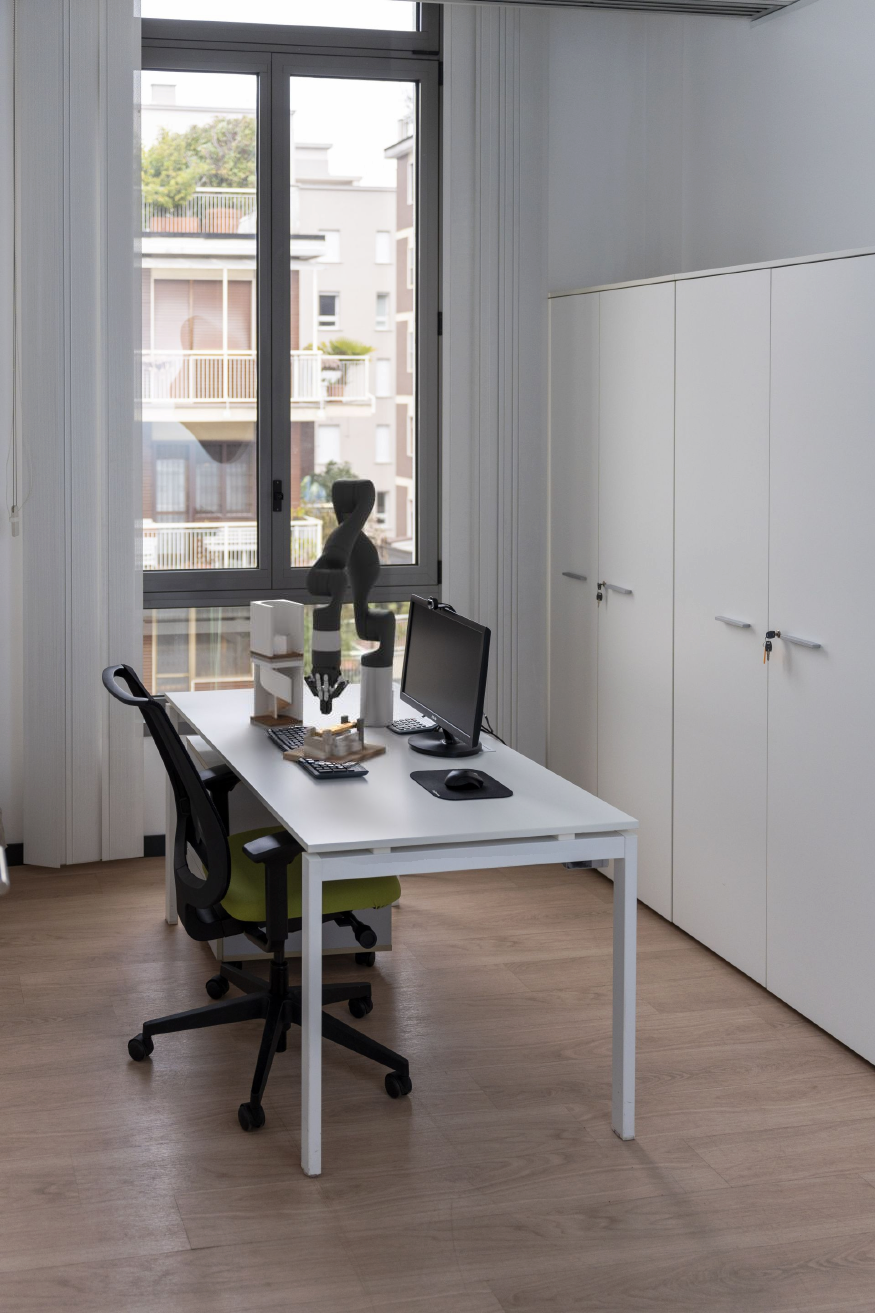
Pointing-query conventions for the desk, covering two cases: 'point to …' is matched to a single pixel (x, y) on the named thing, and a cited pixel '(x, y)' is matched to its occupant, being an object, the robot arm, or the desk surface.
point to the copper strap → (339, 728)
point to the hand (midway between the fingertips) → (325, 713)
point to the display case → (277, 663)
